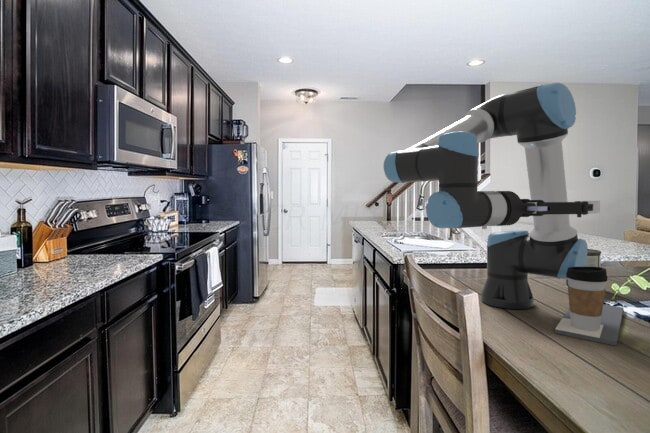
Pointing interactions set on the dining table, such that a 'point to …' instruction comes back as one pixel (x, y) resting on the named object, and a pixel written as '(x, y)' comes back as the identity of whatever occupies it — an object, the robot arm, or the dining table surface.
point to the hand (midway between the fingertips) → (568, 206)
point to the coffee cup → (586, 296)
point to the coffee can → (591, 260)
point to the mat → (604, 335)
